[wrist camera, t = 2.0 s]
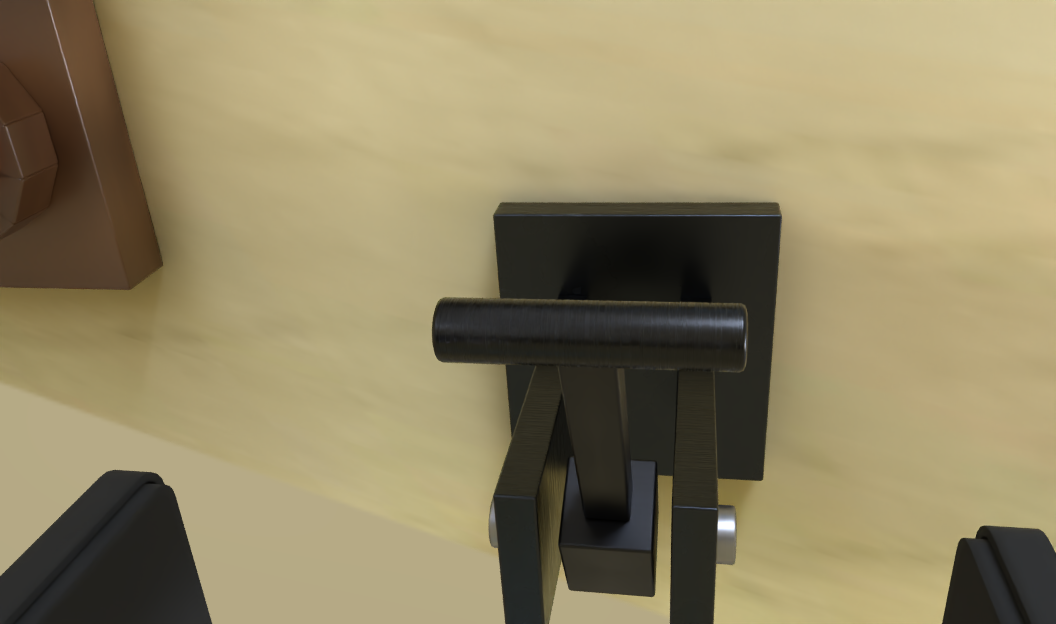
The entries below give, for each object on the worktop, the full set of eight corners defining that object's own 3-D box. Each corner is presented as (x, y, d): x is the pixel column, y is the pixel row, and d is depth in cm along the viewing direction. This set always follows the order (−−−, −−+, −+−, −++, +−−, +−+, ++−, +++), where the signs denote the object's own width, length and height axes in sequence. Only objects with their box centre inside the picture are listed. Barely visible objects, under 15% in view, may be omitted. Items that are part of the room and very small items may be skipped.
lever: (445, 259, 16) (419, 364, 15) (745, 263, 16) (749, 375, 14) (517, 501, 24) (505, 586, 23) (721, 514, 23) (722, 603, 22)
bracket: (499, 201, 29) (391, 385, 19) (779, 201, 28) (827, 403, 17) (519, 449, 34) (440, 708, 23) (760, 461, 32) (790, 745, 22)
